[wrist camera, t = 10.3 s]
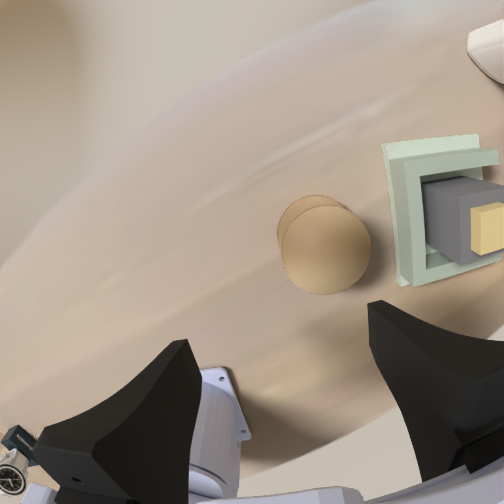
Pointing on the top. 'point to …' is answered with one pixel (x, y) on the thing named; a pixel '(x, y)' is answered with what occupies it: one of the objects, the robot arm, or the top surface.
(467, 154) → the notched board
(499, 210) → the plug
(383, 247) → the top surface
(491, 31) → the eye dropper bottle
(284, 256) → the spool
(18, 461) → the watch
